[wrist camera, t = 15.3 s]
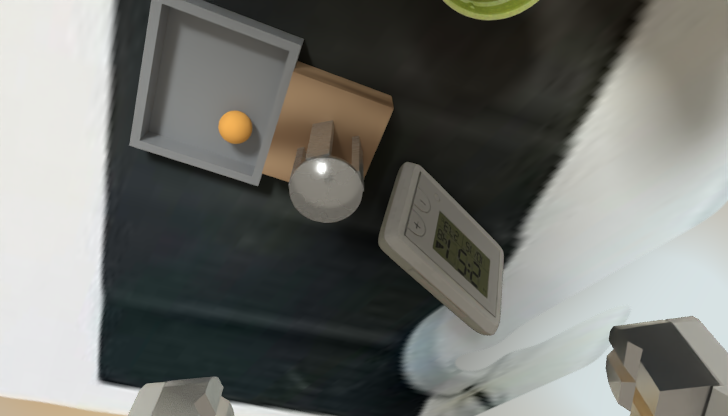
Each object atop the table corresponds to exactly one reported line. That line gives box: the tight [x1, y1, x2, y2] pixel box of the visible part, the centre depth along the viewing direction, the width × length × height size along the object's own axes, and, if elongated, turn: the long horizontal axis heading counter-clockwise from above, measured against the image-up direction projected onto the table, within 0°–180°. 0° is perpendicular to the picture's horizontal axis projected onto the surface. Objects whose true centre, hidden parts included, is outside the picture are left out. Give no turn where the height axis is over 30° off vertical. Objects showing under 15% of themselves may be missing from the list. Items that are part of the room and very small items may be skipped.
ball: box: [218, 111, 252, 144], centre depth 45 cm, size 3×3×3 cm
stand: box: [262, 61, 394, 182], centre depth 45 cm, size 10×9×4 cm
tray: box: [129, 0, 304, 186], centre depth 44 cm, size 14×12×2 cm
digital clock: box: [378, 162, 504, 335], centre depth 48 cm, size 16×9×11 cm, turn 32°
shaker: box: [288, 120, 364, 223], centre depth 41 cm, size 6×6×8 cm
